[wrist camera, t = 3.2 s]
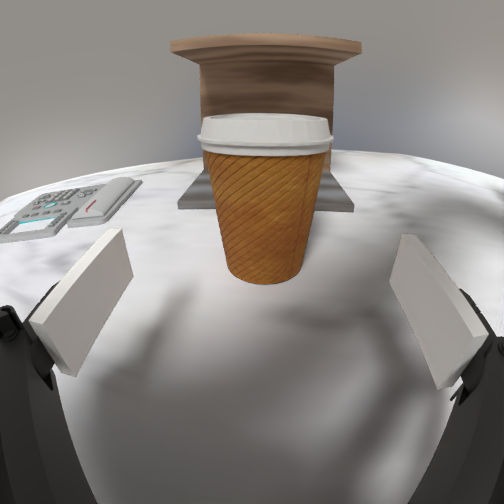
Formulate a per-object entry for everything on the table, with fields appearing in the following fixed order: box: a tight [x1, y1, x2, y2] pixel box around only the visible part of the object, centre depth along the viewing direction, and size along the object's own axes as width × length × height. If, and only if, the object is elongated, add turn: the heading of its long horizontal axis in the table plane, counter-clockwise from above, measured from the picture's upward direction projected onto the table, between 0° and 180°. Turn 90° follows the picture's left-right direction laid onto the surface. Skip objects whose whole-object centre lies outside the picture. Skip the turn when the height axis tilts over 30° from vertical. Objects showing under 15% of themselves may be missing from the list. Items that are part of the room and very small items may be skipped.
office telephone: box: [0, 177, 142, 244], centre depth 37 cm, size 23×3×20 cm
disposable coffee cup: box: [197, 113, 334, 284], centre depth 21 cm, size 10×10×12 cm
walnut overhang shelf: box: [170, 33, 362, 212], centre depth 37 cm, size 18×22×22 cm
